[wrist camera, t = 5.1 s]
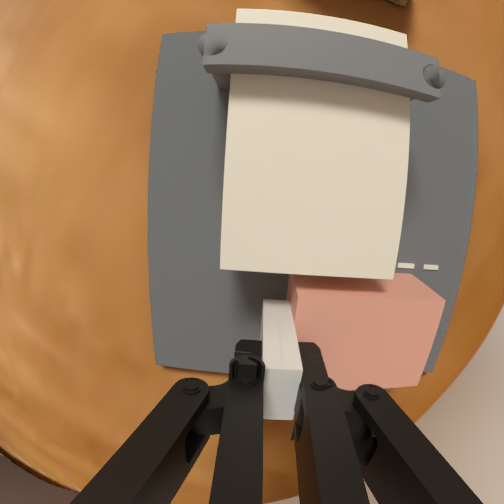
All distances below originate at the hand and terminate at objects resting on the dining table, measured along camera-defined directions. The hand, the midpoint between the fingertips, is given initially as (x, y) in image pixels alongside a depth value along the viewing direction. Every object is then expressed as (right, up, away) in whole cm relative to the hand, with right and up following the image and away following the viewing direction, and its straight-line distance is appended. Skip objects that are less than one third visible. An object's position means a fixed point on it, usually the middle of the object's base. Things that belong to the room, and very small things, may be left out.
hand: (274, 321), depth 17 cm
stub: (+5, 0, +1) cm, 5 cm away
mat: (+3, +6, +1) cm, 7 cm away
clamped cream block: (+2, +10, -1) cm, 10 cm away
